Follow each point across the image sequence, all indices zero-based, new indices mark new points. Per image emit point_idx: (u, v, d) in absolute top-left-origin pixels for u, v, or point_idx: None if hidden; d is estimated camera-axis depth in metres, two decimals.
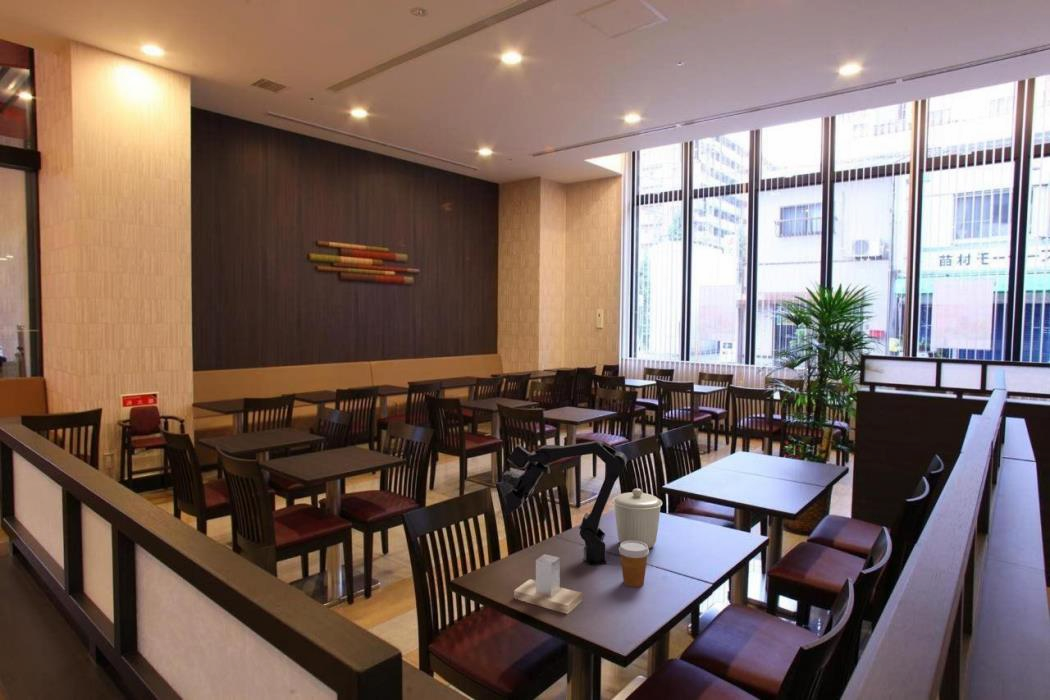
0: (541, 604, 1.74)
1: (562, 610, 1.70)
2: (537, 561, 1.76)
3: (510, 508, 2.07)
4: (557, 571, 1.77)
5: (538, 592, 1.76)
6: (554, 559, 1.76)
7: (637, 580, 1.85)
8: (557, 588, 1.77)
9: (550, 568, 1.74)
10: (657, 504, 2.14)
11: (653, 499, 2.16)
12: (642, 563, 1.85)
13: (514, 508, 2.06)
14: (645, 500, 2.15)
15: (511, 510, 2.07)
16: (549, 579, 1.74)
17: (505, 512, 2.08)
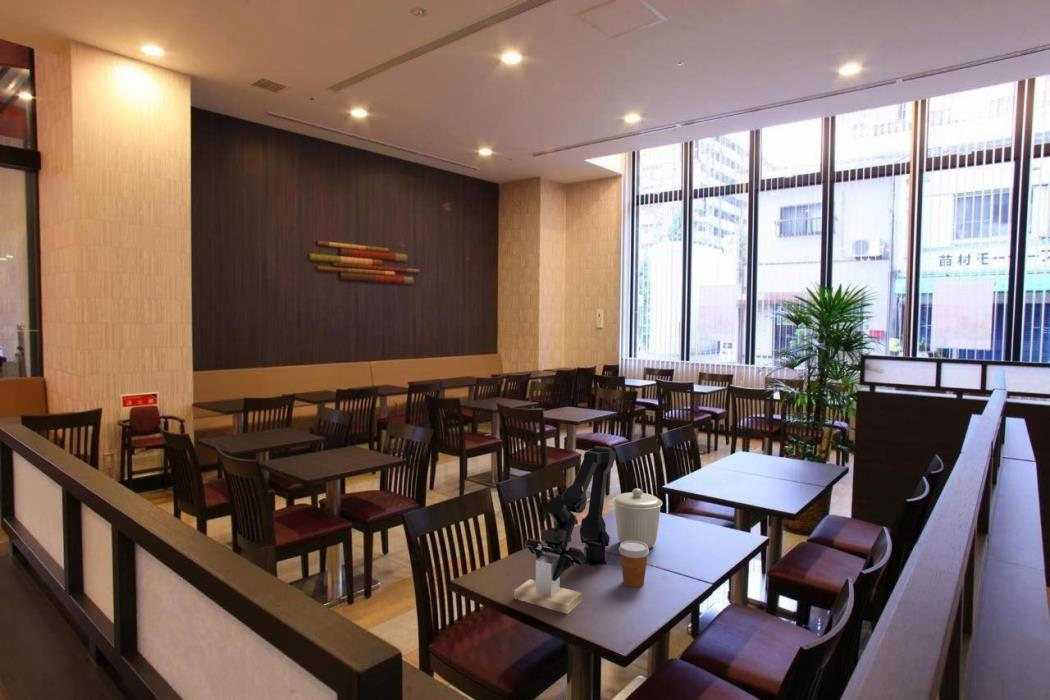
0: (541, 604, 1.74)
1: (562, 610, 1.70)
2: (537, 561, 1.76)
3: (562, 569, 1.77)
4: None
5: (538, 592, 1.76)
6: (554, 559, 1.76)
7: (637, 580, 1.85)
8: (557, 588, 1.77)
9: (550, 568, 1.74)
10: (657, 504, 2.14)
11: (653, 499, 2.16)
12: (642, 563, 1.85)
13: (566, 568, 1.78)
14: (645, 500, 2.15)
15: (562, 571, 1.77)
16: (549, 579, 1.74)
17: (556, 576, 1.75)
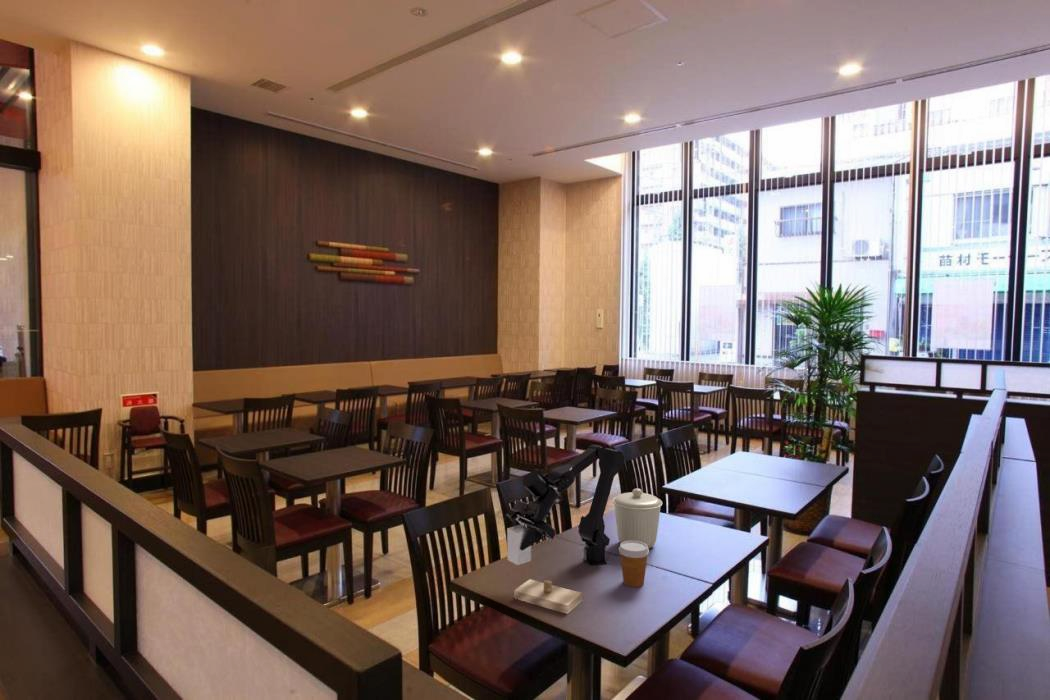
0: (541, 604, 1.74)
1: (562, 610, 1.70)
2: (508, 529, 1.84)
3: (531, 540, 1.82)
4: None
5: (509, 559, 1.85)
6: (524, 530, 1.83)
7: (637, 580, 1.85)
8: (527, 558, 1.83)
9: (517, 537, 1.81)
10: (657, 504, 2.14)
11: (653, 499, 2.16)
12: (642, 563, 1.85)
13: (536, 540, 1.83)
14: (645, 500, 2.15)
15: (532, 542, 1.83)
16: (516, 547, 1.81)
17: (524, 545, 1.82)
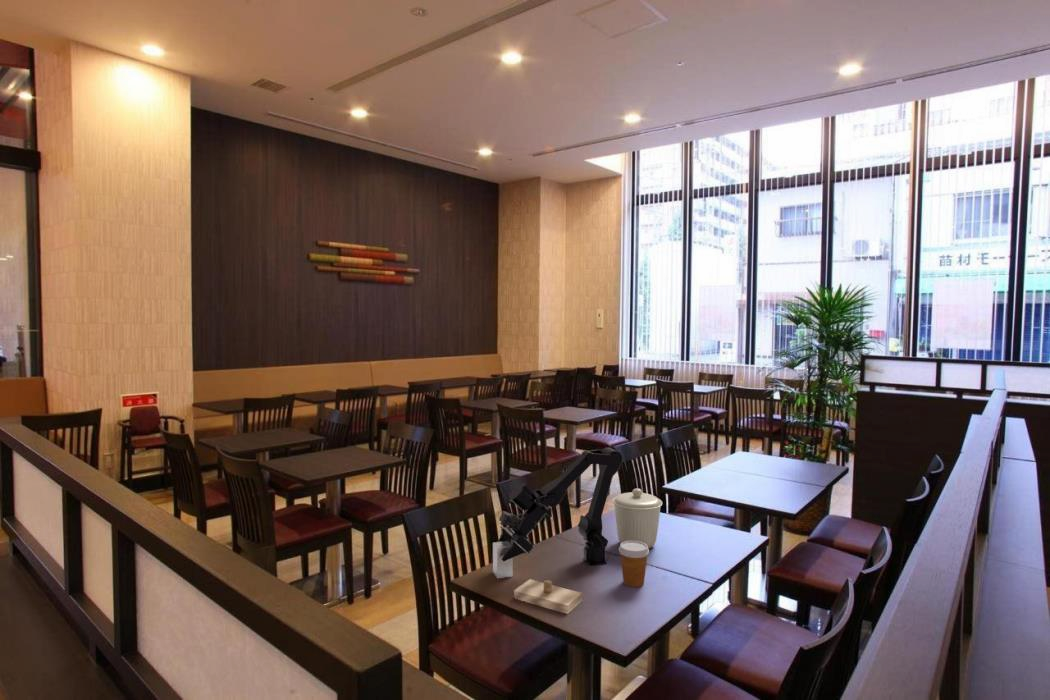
0: (541, 604, 1.74)
1: (562, 610, 1.70)
2: (493, 544, 1.96)
3: (513, 553, 1.90)
4: None
5: (493, 572, 1.96)
6: (506, 546, 1.93)
7: (637, 580, 1.85)
8: (508, 573, 1.93)
9: (497, 552, 1.92)
10: (657, 504, 2.14)
11: (653, 499, 2.16)
12: (642, 563, 1.85)
13: (518, 553, 1.90)
14: (645, 500, 2.15)
15: (513, 555, 1.90)
16: (496, 562, 1.92)
17: (505, 557, 1.90)
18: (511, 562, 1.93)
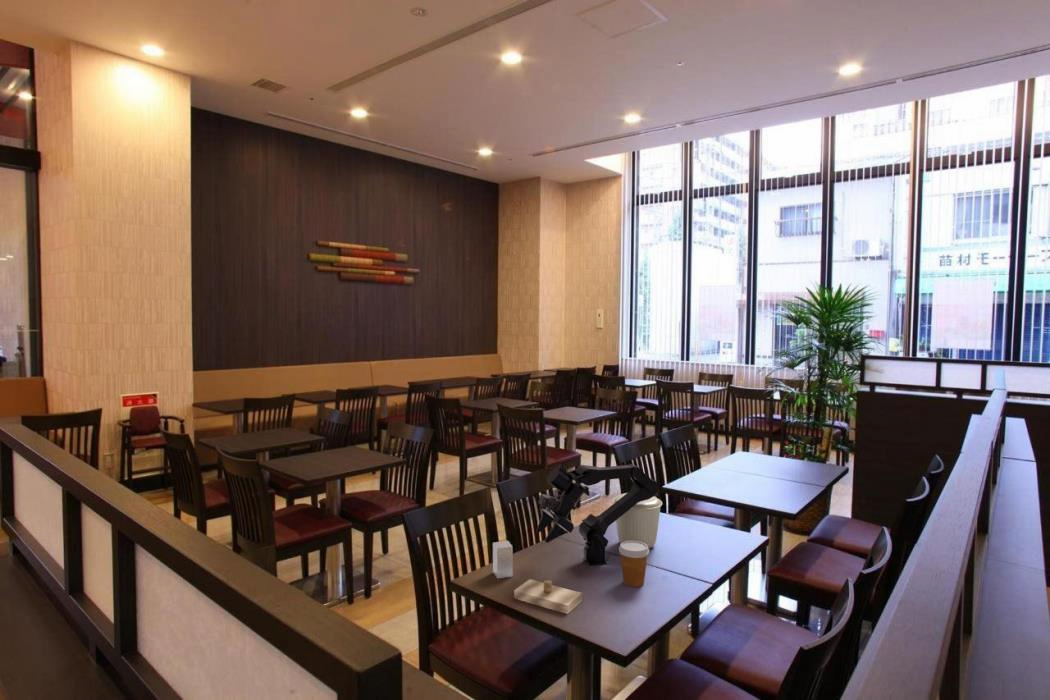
0: (541, 604, 1.74)
1: (562, 610, 1.70)
2: (493, 544, 1.96)
3: (555, 534, 1.94)
4: (508, 558, 1.93)
5: (493, 572, 1.96)
6: (506, 546, 1.93)
7: (637, 580, 1.85)
8: (508, 573, 1.93)
9: (497, 552, 1.92)
10: (657, 504, 2.14)
11: (653, 499, 2.17)
12: (642, 563, 1.85)
13: (560, 533, 1.94)
14: (645, 500, 2.15)
15: (556, 536, 1.94)
16: (496, 562, 1.92)
17: (548, 538, 1.94)
18: (511, 562, 1.93)
